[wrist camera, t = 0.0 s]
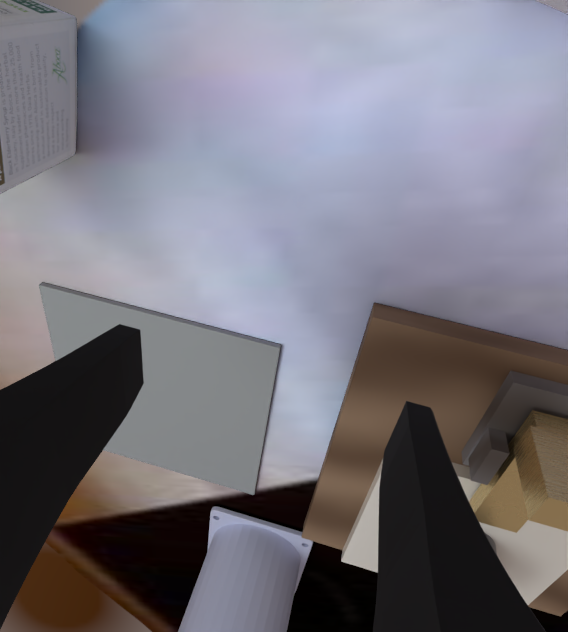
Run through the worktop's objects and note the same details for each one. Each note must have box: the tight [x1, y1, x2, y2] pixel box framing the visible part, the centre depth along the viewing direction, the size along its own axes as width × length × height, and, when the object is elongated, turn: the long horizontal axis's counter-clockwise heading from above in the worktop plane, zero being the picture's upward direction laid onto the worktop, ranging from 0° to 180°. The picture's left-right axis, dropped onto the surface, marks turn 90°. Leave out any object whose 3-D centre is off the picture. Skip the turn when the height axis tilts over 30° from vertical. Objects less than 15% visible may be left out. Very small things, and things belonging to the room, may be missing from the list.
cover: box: [341, 460, 568, 605], centre depth 26 cm, size 12×12×5 cm
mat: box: [39, 282, 281, 495], centre depth 29 cm, size 14×14×1 cm
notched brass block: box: [469, 410, 568, 533], centre depth 21 cm, size 8×3×4 cm, turn 171°
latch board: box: [301, 303, 568, 616], centre depth 26 cm, size 20×18×3 cm
